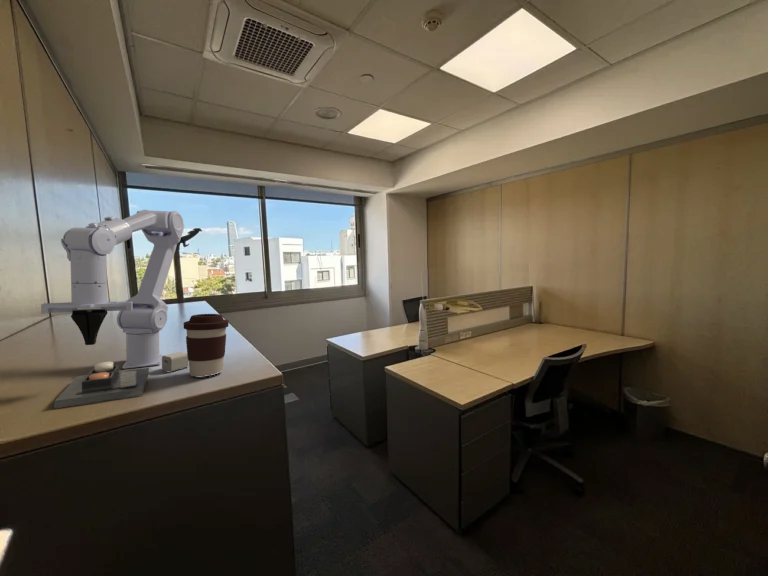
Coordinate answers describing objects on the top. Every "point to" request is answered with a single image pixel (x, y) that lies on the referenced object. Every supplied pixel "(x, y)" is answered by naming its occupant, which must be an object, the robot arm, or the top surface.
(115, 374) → the control panel
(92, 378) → the terracotta button
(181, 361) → the usb wall charger
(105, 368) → the off-white button
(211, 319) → the coffee cup
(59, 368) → the top surface
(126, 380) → the light grey block
